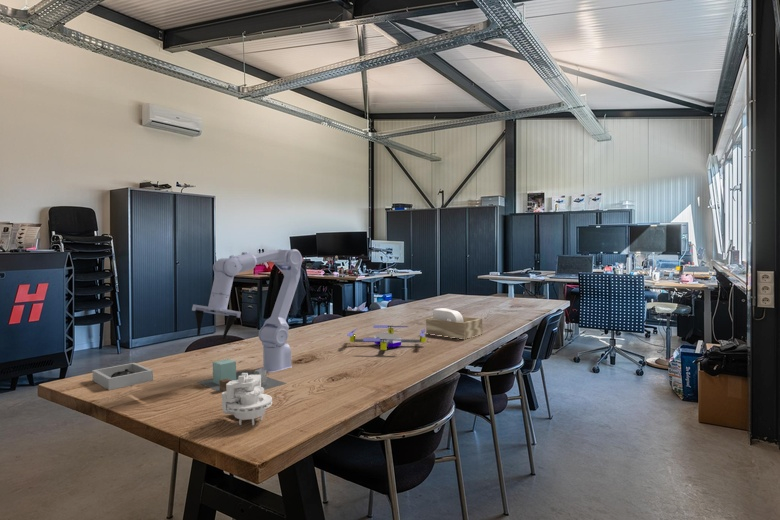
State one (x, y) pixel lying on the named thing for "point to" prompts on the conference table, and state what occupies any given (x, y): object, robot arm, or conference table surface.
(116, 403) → the conference table surface
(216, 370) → the pale aqua cube
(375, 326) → the quadcopter drone
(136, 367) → the gray hollow frame
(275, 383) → the mat
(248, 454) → the conference table surface
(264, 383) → the metal post
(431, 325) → the plywood crate
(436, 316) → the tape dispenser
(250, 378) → the mechanical part
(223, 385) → the brown cube
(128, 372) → the game controller
